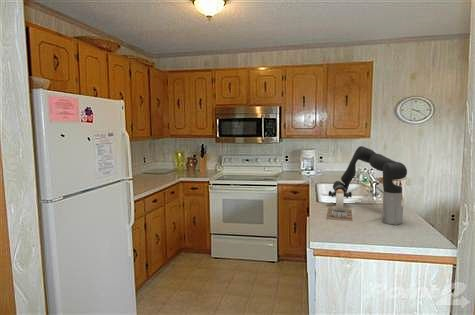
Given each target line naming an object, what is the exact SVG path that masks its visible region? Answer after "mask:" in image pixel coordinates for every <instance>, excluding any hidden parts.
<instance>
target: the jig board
mask: <svg viewBox="0 0 475 315" xmlns="http://www.w3.org/2000/svg"><path fill="white" fill-rule="evenodd" d="M334 209H335V208H330V207H329V208H327V213H326V218H325V220H334V221H345V222H346V221H347V222H353V214H352V209H344V208H343V210H346V211H347V217H346V218H335V217H333V216H332V210H334Z"/></svg>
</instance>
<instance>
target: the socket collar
mask: <svg viewBox="0 0 475 315" xmlns="http://www.w3.org/2000/svg"><path fill="white" fill-rule="evenodd" d="M333 209H334V210H332V216H333V217H335V218H346V217H347V211H346V210H341V209H336V208H333Z"/></svg>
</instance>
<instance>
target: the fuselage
mask: <svg viewBox="0 0 475 315" xmlns="http://www.w3.org/2000/svg"><path fill="white" fill-rule="evenodd" d="M344 198H345V197H344V192H343V190H341V189H338V190H337V191H336V197H335V209H341V210H343V209H344V205H345V204H344V203H345V202H344Z"/></svg>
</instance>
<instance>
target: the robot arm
mask: <svg viewBox="0 0 475 315" xmlns="http://www.w3.org/2000/svg"><path fill="white" fill-rule="evenodd" d="M358 161H361V162H364V163H368V164H369V165H370V166H371V167H372V168H374V169H375V170H376V171H380V172H382V186H383V187H382V188H383V191H382V192H383V196H382V222H383V224H388V225H394V226H397V225H402V224H403V221H404V220H403V218H404V217H403V216H404V206H403V205H402V200H403V195H402V194H403V188H402V187H401V186H400V185H397V184H395V183H394V181H393V180H395V181H396V180H403V179H405V178H406V177H407V174H408V170H407V167H406V165H405V164H404V163H402V162H399V161H396V160H393V159H391V158H389V157H386V156H385V155H383V154H380V153H376V152H375V151H374V150H373V149H371V148H369V147H365V146H358V147H357V148H356V150H355V151H354V153H353V155H352V158H351V160H350V161H349V164H348V165H347V168H346V170H345V171H344V173H343V174H342V176H341V177H340V180H341V181H339V180H336V181H334V183H333V184H332V189H333V191H332V190H329V191H328V197H331V198H334V197H335V198H336V191H337V190H338V189H341V190H343V192H344V198H346V199H348V198H353V197H352V196H353V193H352V191H349V192H348V190H349V187H350V184H351V182H352V181H353V179H354V178H355V176H356V174H357V170H356V166H357V162H358Z"/></svg>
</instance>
